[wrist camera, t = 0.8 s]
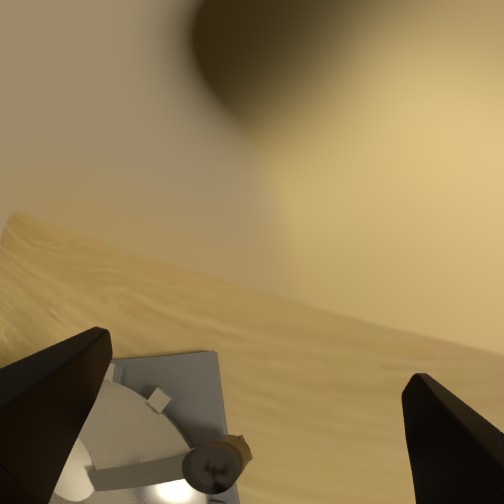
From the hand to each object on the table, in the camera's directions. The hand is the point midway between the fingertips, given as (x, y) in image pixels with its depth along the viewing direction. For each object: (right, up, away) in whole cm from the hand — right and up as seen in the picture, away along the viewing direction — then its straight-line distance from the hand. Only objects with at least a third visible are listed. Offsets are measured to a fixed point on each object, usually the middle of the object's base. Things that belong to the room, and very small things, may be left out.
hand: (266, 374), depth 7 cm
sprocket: (-10, -13, +7) cm, 18 cm away
